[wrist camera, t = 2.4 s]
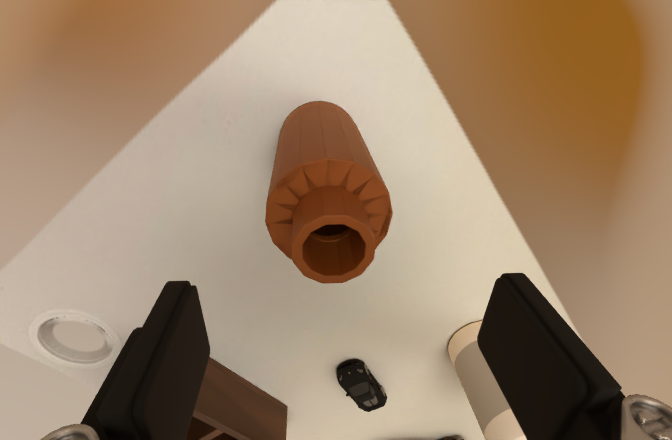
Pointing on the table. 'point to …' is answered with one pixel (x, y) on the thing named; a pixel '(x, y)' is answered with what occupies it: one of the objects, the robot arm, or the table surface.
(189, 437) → the holder
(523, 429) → the robot arm
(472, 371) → the spray bottle
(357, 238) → the bottle
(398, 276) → the table surface
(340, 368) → the toy car
